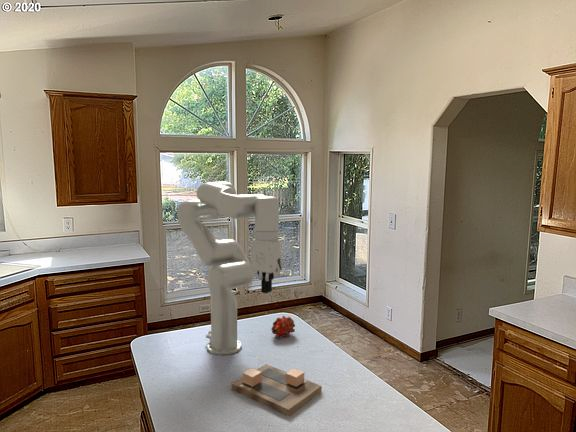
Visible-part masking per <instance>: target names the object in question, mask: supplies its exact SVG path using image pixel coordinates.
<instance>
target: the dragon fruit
mask: <svg viewBox="0 0 576 432" xmlns="http://www.w3.org/2000/svg"><path fill="white" fill-rule="evenodd" d="M295 327H296V323H295V320H294V319H293V318H291V316H287V317H285V315H282V317H277V318H276V320H275V321H273V322H272V326H271V329H270V330H271V332H272V334H273V335H274V338H275V339H276V338H278V339H279V338H282V337H285V338H288V337H290V335H291V334H293V333H295V332H296V331H295V330H296V329H295Z"/></svg>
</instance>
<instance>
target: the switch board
mask: <svg viewBox="0 0 576 432" xmlns="http://www.w3.org/2000/svg"><path fill="white" fill-rule="evenodd" d="M256 370H258V371H260V372H262V382H260V383H258V384H256V385H255V386H253V387H252V386H250V385H248V384H246V383H243V376H242V377H240V378H238V379H237V380H235V381H233V382H231V384H230V385H231V391H233V392H235V393H238V394H240V395H242V396H244V397H246V398H248V399H250V400H253V401H255V402H257V403H259V404H261V405H263V406H265V407H268V408H269V409H271V410H274V411H276V412H278V413H280V414H282V415H284V416H286V417H290V416H291V415H293V414H294V413H296V411H298V410H300V409H301V408H302V407H303V406H305V405H306V404H308V403H309V402H310V401H311V400H313V399H315V397H317V396H318V395H320V394H321V393H322V385H321V384H318V383H315V382H313V381H311V380H308V379H305V378H304V382H303V383H302V384H300V385H299V386H297V387H295V386H293V385H290V384H288V383H286V373H287V372H288V371H284V370H282V369H279V368H276V367H274V366H272V365H270V364H264V365H262V366H260V367H259V368H257V369H256Z"/></svg>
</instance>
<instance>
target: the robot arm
mask: <svg viewBox="0 0 576 432" xmlns="http://www.w3.org/2000/svg"><path fill="white" fill-rule="evenodd" d="M196 197H197V198H196V199H188V200H185V201H183V202H181V203H180V204H179V205H178V206H177V210H176V213H177V214H176V215H177V222H178V224H179V226H180V228H181V230H182V231H183V233H184V234H185V235H186V237H187V238H188V239H189V240H190V242H191V244H192V245H193V248H194V249H195V251H196V253H197V255H198V257H199V259H200V260H201V262H202V264H204V266H206V267H211V268H210V269H209V270H208V272H207V284H208V288H209V296H210V330H209V331H208V333H206V334H205V338H207V339H209V342H208V343H207V345H206V349H207V351H208V352H209V353H211V354H214V355H218V356H225V355H232V354H235V353H238V352H239V351H240V350H241V349H242V342H241V341H240V340H239V339H238V301H237V300H238V299H237V298H236V296H235V293H233V291H232V290H233V289H236V288H241V287H245V286H249V285H250V284H251V283H252V282H253V281H254V279H255V273H256V274H257V275H258V277H259V280H260V281H261V283H260V284H261V286H260V287H261V293H264V294H268V293H271V292H272V291H273V289H272V288H273V280H274V278H277V277H281V276H282V273H281V271H282V269H283V255H282V254H283V252H282V246H281V245H282V244H281V240H279V228H280V227H279V224H280V222H279V221H280V219H279V218H280V217H279V214H280V209H279V207H280V202H279V199H278V197H276V196H271V195H264V194H263V193H262V194H261V193H254V194H252V193H251V194H250V193H249V194H237V191H236V188H235V186H234V185H233V184H232V183H231V182H228V181H209V182H204V183H202V184H200V185H199V186H198V188H197V189H196ZM222 216H223V217H226V218H229V219H236V220H237V219H239V220H240V219H247V218H249V219H250V218H254V230H253V232H252V233H253V235H254V238H253V239H252V242H251V246H250V247H251V248H250V256H249V257H250V259H249V258H248V256H247V255H246V253H245V251H244V250H243V247H242V246H241V245H240V244H239V242H237V240H235V239H232V238H224V239H217V238H216V237H215V235H214V234H213V231H212V230H211V229H210V227H208V226H207V225H205V224H204V223H202V222H204V221H212V220H218V219H221V217H222Z"/></svg>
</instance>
